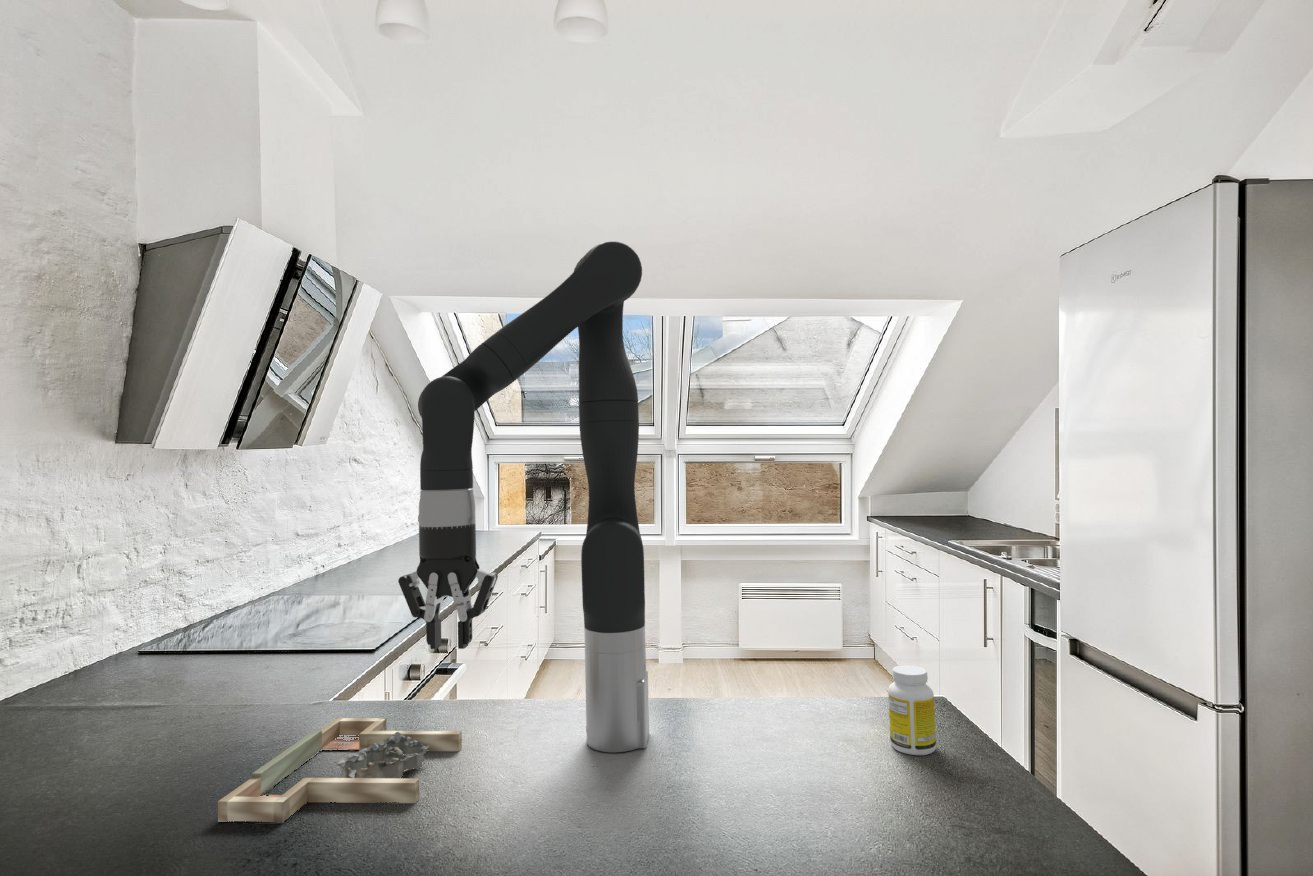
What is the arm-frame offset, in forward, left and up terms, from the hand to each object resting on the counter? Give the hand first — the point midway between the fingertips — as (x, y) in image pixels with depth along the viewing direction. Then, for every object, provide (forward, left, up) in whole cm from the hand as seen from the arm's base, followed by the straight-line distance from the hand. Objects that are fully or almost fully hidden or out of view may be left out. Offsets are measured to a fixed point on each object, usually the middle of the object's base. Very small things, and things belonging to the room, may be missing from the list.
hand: (449, 646), depth 94 cm
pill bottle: (-64, -9, -17) cm, 67 cm away
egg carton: (+10, 0, -18) cm, 20 cm away
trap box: (+13, 0, -17) cm, 21 cm away
